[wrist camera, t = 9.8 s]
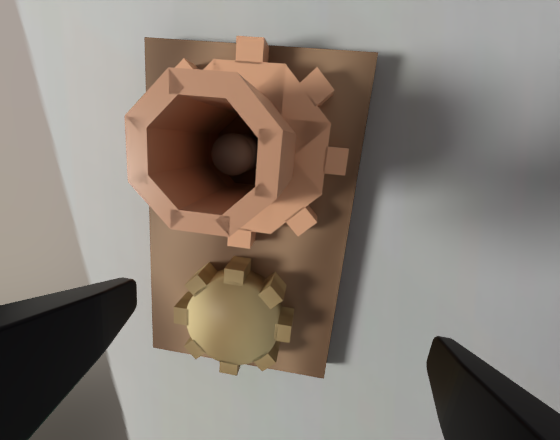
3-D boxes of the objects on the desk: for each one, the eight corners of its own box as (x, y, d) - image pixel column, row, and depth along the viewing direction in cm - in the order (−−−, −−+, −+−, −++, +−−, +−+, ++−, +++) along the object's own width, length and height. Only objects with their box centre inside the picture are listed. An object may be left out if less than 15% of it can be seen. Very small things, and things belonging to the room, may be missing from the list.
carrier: (373, 60, 17) (401, 16, 11) (323, 363, 22) (324, 440, 16) (158, 45, 18) (82, -1, 12) (163, 334, 24) (112, 397, 18)
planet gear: (360, 52, 15) (397, -28, 8) (331, 250, 18) (338, 320, 11) (159, 40, 16) (35, -39, 9) (163, 228, 19) (71, 278, 12)
